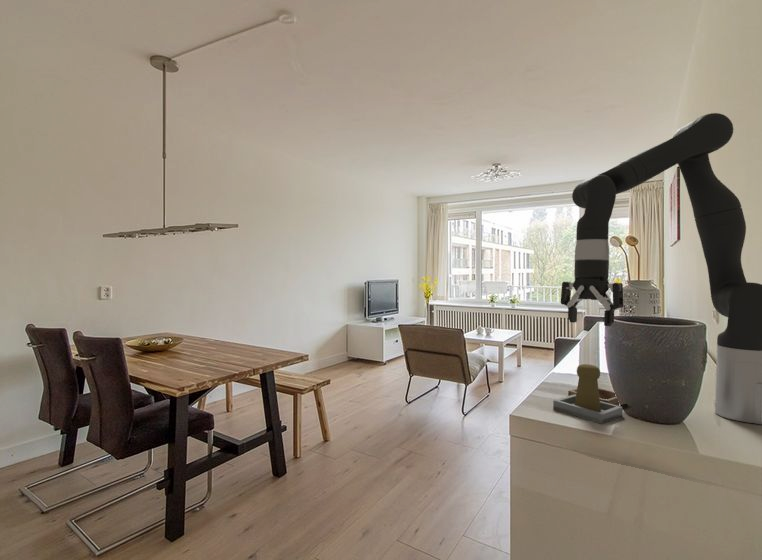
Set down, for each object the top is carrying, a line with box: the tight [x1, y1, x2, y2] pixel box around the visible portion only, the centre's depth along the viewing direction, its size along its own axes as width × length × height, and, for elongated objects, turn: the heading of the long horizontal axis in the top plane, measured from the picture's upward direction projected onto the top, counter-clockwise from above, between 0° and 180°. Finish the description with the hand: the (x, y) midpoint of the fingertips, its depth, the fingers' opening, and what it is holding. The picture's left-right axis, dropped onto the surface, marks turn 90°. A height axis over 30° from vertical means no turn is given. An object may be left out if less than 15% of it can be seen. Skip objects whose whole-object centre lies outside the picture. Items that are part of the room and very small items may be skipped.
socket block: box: [567, 387, 619, 406], centre depth 107 cm, size 10×10×2 cm
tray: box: [553, 394, 623, 425], centre depth 99 cm, size 12×10×2 cm
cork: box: [574, 363, 601, 412], centre depth 98 cm, size 6×6×11 cm
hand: (589, 324), depth 98 cm, fingers open, 8 cm apart
